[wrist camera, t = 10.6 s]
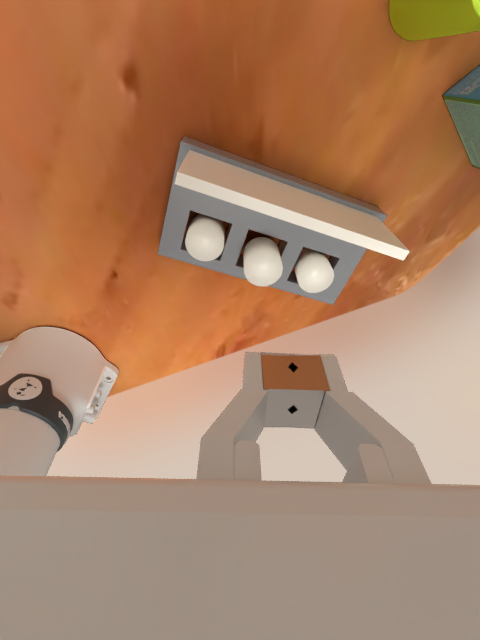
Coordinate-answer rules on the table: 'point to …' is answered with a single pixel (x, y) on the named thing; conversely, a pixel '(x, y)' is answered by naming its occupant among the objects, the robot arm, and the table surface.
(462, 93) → the milk carton
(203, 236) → the button left
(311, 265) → the button right
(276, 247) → the button middle
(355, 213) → the console
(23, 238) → the table surface
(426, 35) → the soap dispenser
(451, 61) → the table surface
